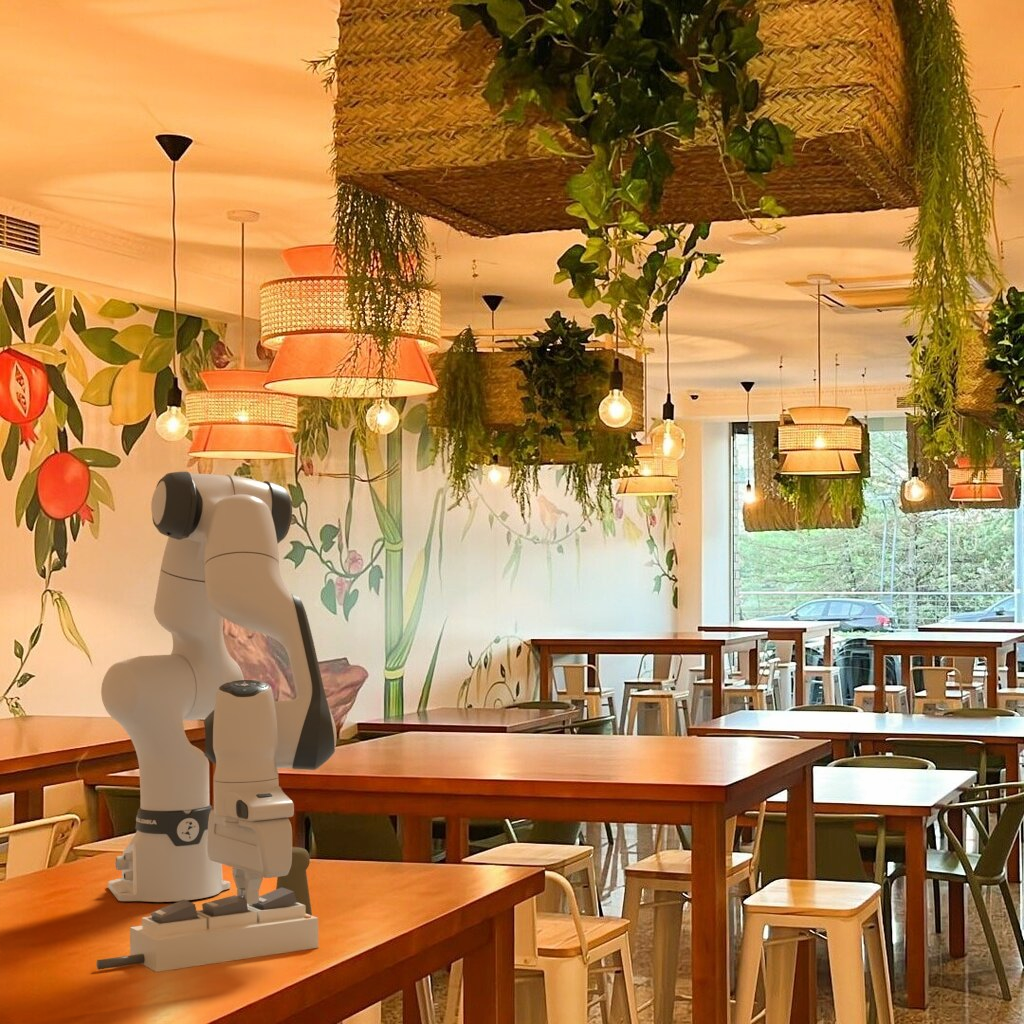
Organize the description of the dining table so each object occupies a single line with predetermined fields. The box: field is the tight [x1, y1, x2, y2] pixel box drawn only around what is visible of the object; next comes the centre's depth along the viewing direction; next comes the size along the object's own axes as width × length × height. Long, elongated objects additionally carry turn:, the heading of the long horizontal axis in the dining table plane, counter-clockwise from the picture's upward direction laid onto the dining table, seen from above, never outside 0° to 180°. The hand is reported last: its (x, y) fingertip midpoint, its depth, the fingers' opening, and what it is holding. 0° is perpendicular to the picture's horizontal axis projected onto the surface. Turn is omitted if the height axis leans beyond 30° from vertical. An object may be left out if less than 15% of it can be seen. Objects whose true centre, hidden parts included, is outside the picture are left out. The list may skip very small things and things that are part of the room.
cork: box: [275, 846, 313, 916], centre depth 228 cm, size 6×6×11 cm
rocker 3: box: [252, 887, 297, 910], centre depth 213 cm, size 4×5×2 cm
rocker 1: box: [150, 900, 198, 924], centre depth 206 cm, size 4×5×2 cm
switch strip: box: [96, 902, 319, 973], centre depth 208 cm, size 10×29×6 cm, turn 123°
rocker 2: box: [201, 894, 248, 917], centre depth 209 cm, size 4×5×2 cm
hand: (248, 902), depth 211 cm, fingers closed, pressing on rocker 2
